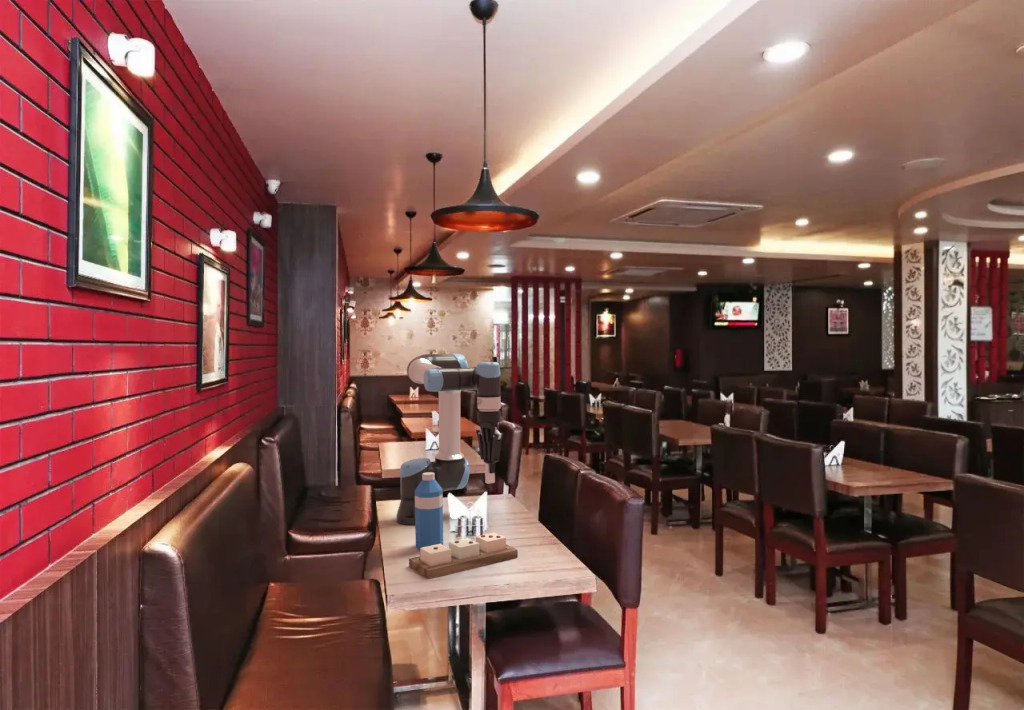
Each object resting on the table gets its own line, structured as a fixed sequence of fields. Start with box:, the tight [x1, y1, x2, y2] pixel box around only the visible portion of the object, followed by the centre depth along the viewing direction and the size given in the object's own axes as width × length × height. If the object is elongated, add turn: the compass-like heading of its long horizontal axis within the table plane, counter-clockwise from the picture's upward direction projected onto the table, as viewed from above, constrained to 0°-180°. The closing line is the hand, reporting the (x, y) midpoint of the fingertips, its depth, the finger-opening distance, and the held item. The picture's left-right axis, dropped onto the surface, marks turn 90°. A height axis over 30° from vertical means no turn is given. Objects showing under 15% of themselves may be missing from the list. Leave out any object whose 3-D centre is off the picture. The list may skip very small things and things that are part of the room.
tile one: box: [419, 544, 451, 567], centre depth 201 cm, size 7×7×4 cm
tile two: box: [448, 537, 479, 560], centre depth 207 cm, size 7×7×4 cm
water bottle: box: [414, 472, 444, 551], centre depth 222 cm, size 9×9×25 cm
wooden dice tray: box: [408, 544, 519, 580], centre depth 207 cm, size 13×32×2 cm, turn 124°
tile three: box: [475, 532, 507, 553], centre depth 212 cm, size 7×7×4 cm
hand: (490, 482), depth 212 cm, fingers closed
